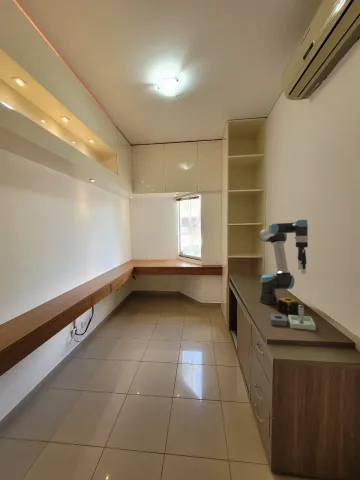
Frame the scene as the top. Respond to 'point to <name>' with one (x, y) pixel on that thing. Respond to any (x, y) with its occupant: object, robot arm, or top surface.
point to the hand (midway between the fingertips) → (302, 271)
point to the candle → (288, 306)
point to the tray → (307, 324)
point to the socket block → (278, 319)
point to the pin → (301, 314)
